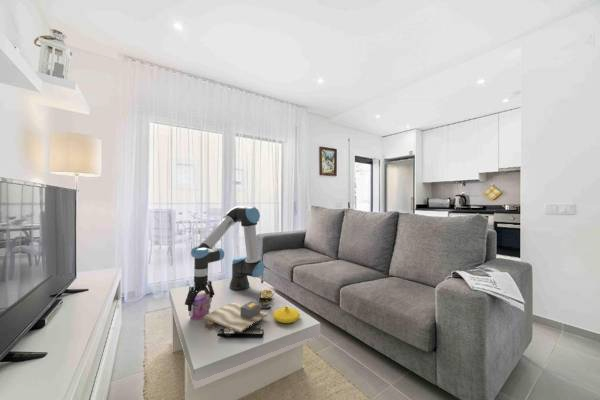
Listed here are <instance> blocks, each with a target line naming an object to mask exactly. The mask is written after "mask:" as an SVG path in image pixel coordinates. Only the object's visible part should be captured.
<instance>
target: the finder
mask: <svg viewBox="0 0 600 400" xmlns="http://www.w3.org/2000/svg"><path fill="white" fill-rule="evenodd" d="M260 311H261V303H258V302H254V301H249V302H247V303H245V304H244V305H243V306H242V307H241V312H240V316H242V317H246V318H249V319H251V318H252V317H254V316H256V315H257V314H259V313H260Z"/></svg>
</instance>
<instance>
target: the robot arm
mask: <svg viewBox="0 0 600 400" xmlns="http://www.w3.org/2000/svg"><path fill="white" fill-rule="evenodd" d="M260 217H261V214H260V210H259V209H258V208H257V207H256V206H251V205H250V206H247V205H246V206H245V205H244V206H243V205H242V206H241V205H239V206H234V207H233V208H231V209H230V210H229V211H228V212H226V213H225V214H224V215H223V217H222V220H221V221H220V222H219V223H218V224H217V225H216V226H215V227H214V229H212V231H211V232H210V233H209V234H208V236H207V237H206V238H204V240H203V241H202V242H201V243H200V244H199V245H195V246H194V247H193V248H191V251H190V255H191V257H192V258H194V269H193V271H194V272H193V274H194V276H193V283H194V284H193V285H192V286H191V285H190V286H189V288H188V293H187V296H186V299H185V302H184V305H185V306H187V310H188V317H190V316H191V317H193V305H192V304H193V302H194V299H195V298H196V296H197V295H198V294H200V293H201V292H204V293H207V294H209V310H211V308H212V305H211V303H212V300H213V299H212V298H214V296H215V292H214V291H215V290H214V288H213V285H212V283H213V282H212V280H209V277H208V276H209V275H208V274H209V264H211V263H214V262H219V261H221V260H223V259H224V258H225V250H224V249H223V248H215V249H214V247H215V246H216V244H217V243H218V242H219V241H220V239H222V237H223V236H224V235H225V234H226V233H227V231H228V230H229V229H230V228H231V226H234V225H236V223H238V222H240V224H241V225H240V226H241V227H242V228H243V232H244V233H243V234H244V242H245V243H244V245H245V254H246V256H238V257H235V258H233V259H232V264H231V268H232V269H231V270H232V271H231V272H232V273H231V274H232V275H231V280H230V283H229V289H230V290H234V291H242V290H244V291H245V290H246V289H249V288H250V282H249V278H248V277H252V278H259V277H261V276H262V275H263V273H264V271H265V267H266V266H265V263H264V262H263V261H261V259H262V258H261V257H260V256H259V250H258V240H257V227H256V226H257V225H258V222H259V221H260Z"/></svg>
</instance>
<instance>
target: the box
mask: <svg viewBox="0 0 600 400" xmlns="http://www.w3.org/2000/svg"><path fill="white" fill-rule="evenodd" d="M192 305H193V317H191V316H189V317H190V320H194V321H200V320H201V319H203V318H204V316H205V315H207V314H209V312H210V309H209V294H207V293H205V292H204V291H201V292H199V293H198V294H197V296H196V298H195V299H194V302H193V304H192Z"/></svg>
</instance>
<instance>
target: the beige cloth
mask: <svg viewBox="0 0 600 400" xmlns="http://www.w3.org/2000/svg"><path fill="white" fill-rule="evenodd" d="M242 306H243V305H242V304H239V303H236V302H230V303H228V304H226V305H224V306H221V307H219V308H218V309H215V310H214V311H211V312H210V313H207V314H206V315H205V316H204V317H203V319H205V320H207V321H205V322H204V328H205V329H209V330H211V329H214V328H215V327H217V326H219V325H221V326H224V327H225V328H224V329H223V330H226V329H230V328H232V329H235V330H237V331H238V332H239V333H242V332H243V330H244V331H245V330H246V328H247V329H249V326H250V325H251V326H253V325H254V324H253V323H254V322H256V321H258V322H259V321H260V320H262V319H264V318H266V317H267V316H268V315H269V313H268V312H265V311H261V310H260V313H259V314H257V315H256V316H254V317H252V318H251V319H249V318H246V317H242V316H240V312H241V307H242ZM256 323H257V322H256ZM252 324H253V325H252ZM251 326H250V327H251Z"/></svg>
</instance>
